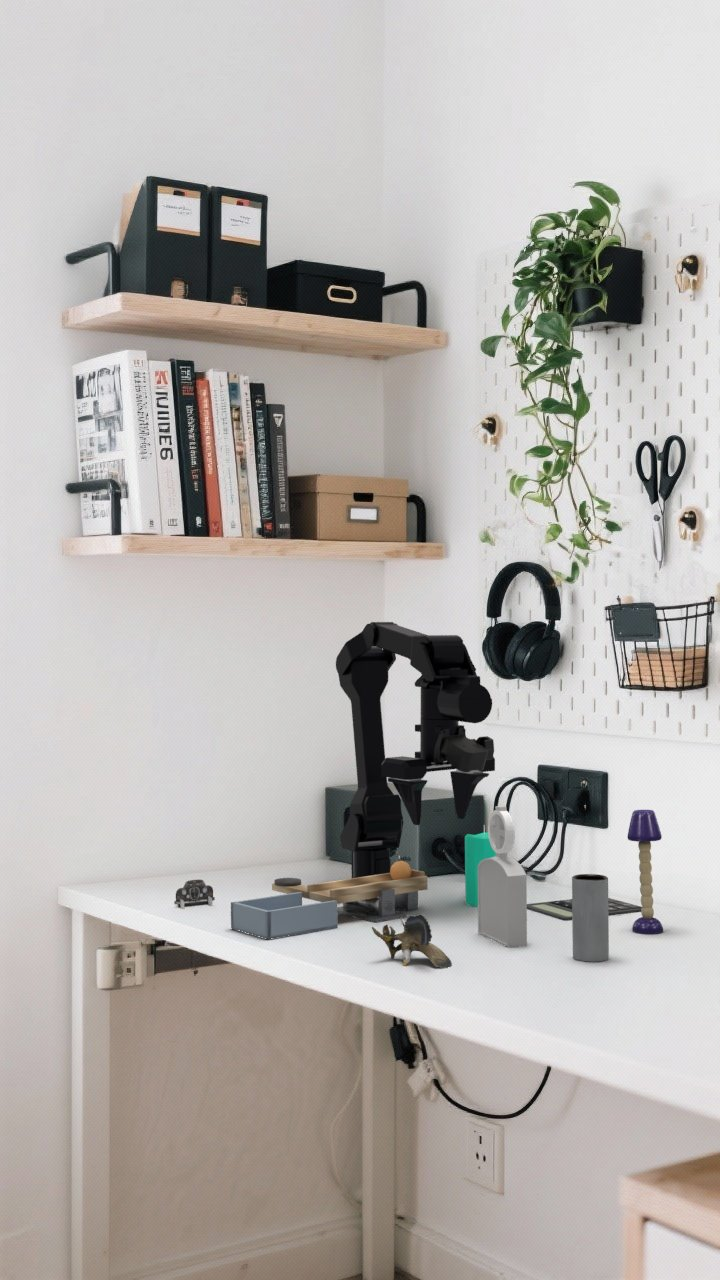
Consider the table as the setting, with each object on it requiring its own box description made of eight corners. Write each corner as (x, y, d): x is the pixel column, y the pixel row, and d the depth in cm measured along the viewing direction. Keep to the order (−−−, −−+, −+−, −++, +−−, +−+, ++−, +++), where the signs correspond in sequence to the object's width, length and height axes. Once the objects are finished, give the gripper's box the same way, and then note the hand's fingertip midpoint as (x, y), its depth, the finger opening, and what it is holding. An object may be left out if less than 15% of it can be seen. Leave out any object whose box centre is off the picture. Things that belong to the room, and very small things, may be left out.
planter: (600, 963, 172) (599, 881, 172) (567, 959, 174) (566, 878, 174) (614, 956, 176) (613, 875, 176) (581, 952, 178) (580, 872, 178)
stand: (387, 902, 213) (387, 875, 213) (432, 912, 205) (432, 884, 205) (331, 911, 206) (330, 883, 206) (375, 922, 198) (374, 893, 198)
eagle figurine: (365, 957, 171) (426, 952, 166) (374, 904, 175) (434, 898, 170) (398, 980, 176) (458, 976, 171) (406, 928, 180) (465, 922, 175)
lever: (365, 876, 219) (364, 860, 219) (427, 889, 207) (427, 872, 207) (269, 890, 207) (269, 873, 207) (329, 905, 195) (329, 886, 195)
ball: (385, 882, 208) (385, 860, 208) (402, 879, 210) (401, 858, 210) (399, 884, 205) (399, 863, 205) (415, 882, 207) (415, 861, 207)
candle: (504, 899, 214) (503, 822, 214) (504, 906, 208) (503, 827, 208) (465, 899, 215) (465, 822, 215) (465, 906, 209) (464, 827, 209)
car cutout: (181, 915, 207) (181, 885, 207) (166, 907, 213) (166, 878, 213) (272, 905, 214) (272, 876, 214) (254, 898, 220) (254, 870, 220)
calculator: (648, 907, 205) (564, 916, 198) (648, 913, 205) (564, 923, 198) (601, 894, 215) (520, 903, 208) (601, 900, 215) (520, 909, 208)
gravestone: (508, 947, 181) (507, 811, 181) (478, 933, 190) (477, 803, 190) (526, 946, 182) (525, 810, 182) (496, 931, 191) (495, 802, 191)
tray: (231, 929, 194) (230, 902, 194) (299, 917, 201) (299, 892, 201) (267, 939, 187) (267, 912, 187) (337, 927, 194) (337, 900, 194)
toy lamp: (625, 932, 189) (624, 811, 189) (631, 926, 194) (630, 807, 194) (661, 935, 188) (660, 813, 188) (665, 928, 192) (664, 809, 192)
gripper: (430, 725, 195) (430, 835, 195) (521, 718, 207) (521, 822, 207) (379, 720, 203) (378, 825, 204) (469, 714, 215) (468, 813, 216)
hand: (439, 821), depth 207 cm, fingers open, 9 cm apart
